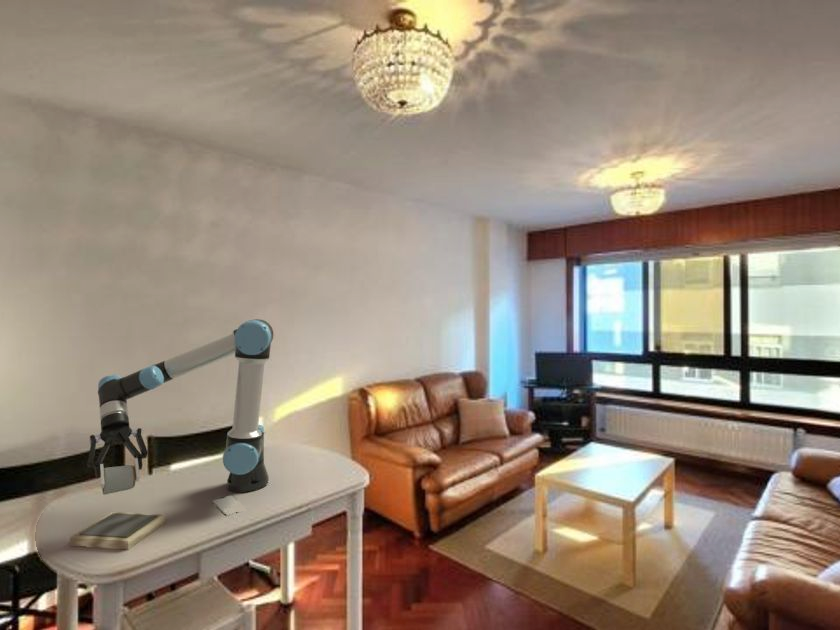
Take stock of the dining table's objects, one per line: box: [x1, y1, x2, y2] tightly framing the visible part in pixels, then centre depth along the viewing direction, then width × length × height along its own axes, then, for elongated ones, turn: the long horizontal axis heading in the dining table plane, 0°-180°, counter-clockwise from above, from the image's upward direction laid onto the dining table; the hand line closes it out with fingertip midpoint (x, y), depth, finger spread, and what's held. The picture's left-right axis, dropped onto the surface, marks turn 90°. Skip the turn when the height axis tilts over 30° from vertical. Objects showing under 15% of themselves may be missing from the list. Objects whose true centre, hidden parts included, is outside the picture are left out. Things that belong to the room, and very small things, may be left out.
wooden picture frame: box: [69, 511, 166, 551], centre depth 137 cm, size 18×16×3 cm
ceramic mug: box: [101, 464, 136, 495], centre depth 138 cm, size 11×8×8 cm
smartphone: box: [211, 494, 238, 516], centre depth 157 cm, size 7×1×15 cm
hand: (120, 482), depth 134 cm, fingers closed on ceramic mug, 8 cm apart
